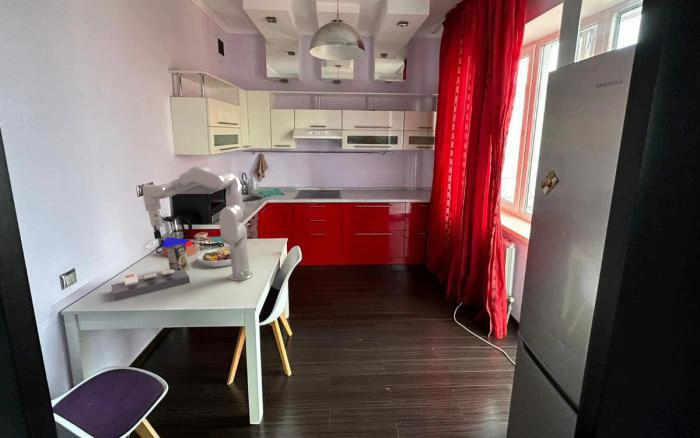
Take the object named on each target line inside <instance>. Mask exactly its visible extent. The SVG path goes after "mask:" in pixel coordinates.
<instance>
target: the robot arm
mask: <svg viewBox="0 0 700 438" xmlns="http://www.w3.org/2000/svg"><path fill="white" fill-rule="evenodd" d="M195 186H202V187H204V188H208V189H209V190H212V191H221V190H223V189H226V192H225V205H226V206H225V207H223V208H222V209H221V211H220V213H219V217H218V218H219V227H220V228H219V230H220V231H219V232H220V236H221V237H222V240H223V241H224V242H223V243H224V244H226V245H229V247H230V257H231V265H230V267H231V272H232V273H231V274H230V275H229V279H230V280H232V281H245V280H248V279H250V278H252V277H253V272H252V271H250V264H249V262H250V261H249V252H248V230H247V226H246V225H245V224H244V223H242V222H239V221H240V220H241V219H242V218H243V216H244V205H243V204H244V201H243V195H242V191H243V190H242V183H241V182H240V179H239V178H238V177H237V175H235V174H233V173H231V172H228V171H223V172H222V171H221V172H219V173H213V172H212V169H211V168H210V167H209V166H207V165H204V164H202V165H201V164H200V165H196V166H192V167H191V168H190V169H189V170H188V171H185V172H183V173H181V174H180V175H179V177H178V178H176V179H174V180H172V181H170V182H167V183H162V184H159V185H156V184H146V185H143V186H142V194H143V199H144V200H143V201H144V206H145V211H146V212H147V211H148V215H149V221H150V226H151V227H152V228H153V235H154V240H159V239H162V234H161V232H162V231H161V228H163V221H162V215H161V211H160V210H162V206H161V201H160V199H161V200H163V199H167V198H169V197H174V196H175V195H178V194H179V193H182V192H184V191H187V190H189V189H191V188H193V187H195ZM160 227H161V228H160Z"/></svg>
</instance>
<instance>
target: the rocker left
mask: <svg viewBox="0 0 700 438" xmlns="http://www.w3.org/2000/svg"><path fill="white" fill-rule="evenodd" d="M122 277H123V281H124V282H125V286H130V285H134V284H139V283H138V279H139V278H138V277H137V273H134V274H128V275H124V276H122Z"/></svg>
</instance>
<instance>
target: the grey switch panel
mask: <svg viewBox="0 0 700 438" xmlns="http://www.w3.org/2000/svg"><path fill="white" fill-rule="evenodd" d="M137 279H138V283H139V284H134V285H130V286H125V282H119V283H118V282H117V283H114V284H111V292H112V296H113V297H112V298H113V301H114V302H116V301H122V300H125V299H129V298H133V297H137V296H142V295H146V294H149V293H154V292H158V291H162V290H167V289H172V288H175V287H179V286H184V285H188V283H189V284H191V281H190V276H189V274H188V273H187V272H186V271H185V270H184V269H183V270H178V271H175V272H174V273H173V274H168V275H164V276H163V275H162V274H161V273H160V274H157V276H156V277H154V278H150V279H145V280H144V278H143V277H142V278H137Z"/></svg>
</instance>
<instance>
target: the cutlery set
mask: <svg viewBox="0 0 700 438" xmlns="http://www.w3.org/2000/svg"><path fill="white" fill-rule="evenodd" d="M209 237H210V238H211V240H212V241H213V242H217V243H218V244H219V243H220V242H223V243H225V242H224V241H223V240H222V237H221V235H218V236H209ZM219 241H220V242H219ZM212 245H214V246H213V247H212V248H211V249H215V248H220V247H221V246H218V245H217V244H216V243H214V244H213V243H212ZM211 249H210V250H211Z"/></svg>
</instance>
